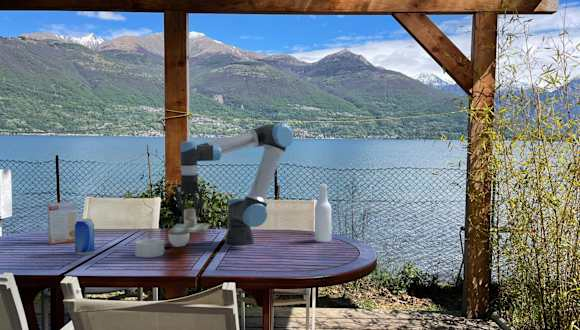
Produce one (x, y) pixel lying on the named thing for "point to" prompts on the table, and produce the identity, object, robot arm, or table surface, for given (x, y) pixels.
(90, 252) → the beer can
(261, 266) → the table surface
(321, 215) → the alcohol
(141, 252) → the bowl
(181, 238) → the lidded jar
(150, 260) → the table surface
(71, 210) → the cracker box
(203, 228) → the lid
